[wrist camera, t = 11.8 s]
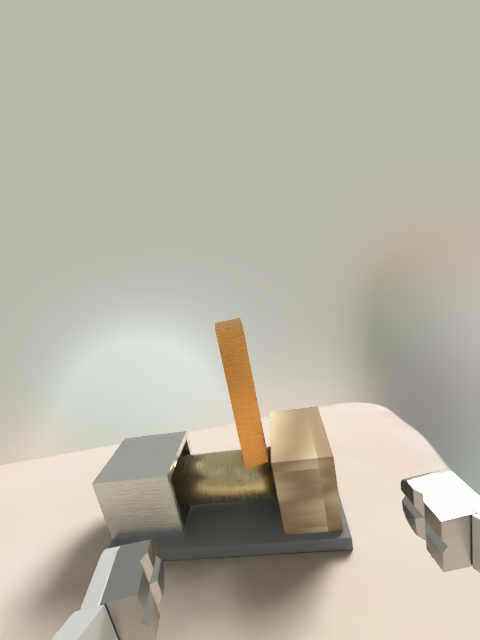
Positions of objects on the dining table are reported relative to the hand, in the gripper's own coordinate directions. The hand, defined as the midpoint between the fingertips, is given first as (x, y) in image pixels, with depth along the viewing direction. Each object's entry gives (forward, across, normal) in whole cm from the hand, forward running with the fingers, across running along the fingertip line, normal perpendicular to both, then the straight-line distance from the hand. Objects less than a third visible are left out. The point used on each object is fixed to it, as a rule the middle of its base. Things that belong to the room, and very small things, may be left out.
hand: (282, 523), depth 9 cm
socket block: (+11, -3, +11) cm, 16 cm away
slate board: (+13, +3, +12) cm, 18 cm away
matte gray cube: (+14, +9, +11) cm, 20 cm away
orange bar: (+12, +2, +10) cm, 16 cm away
